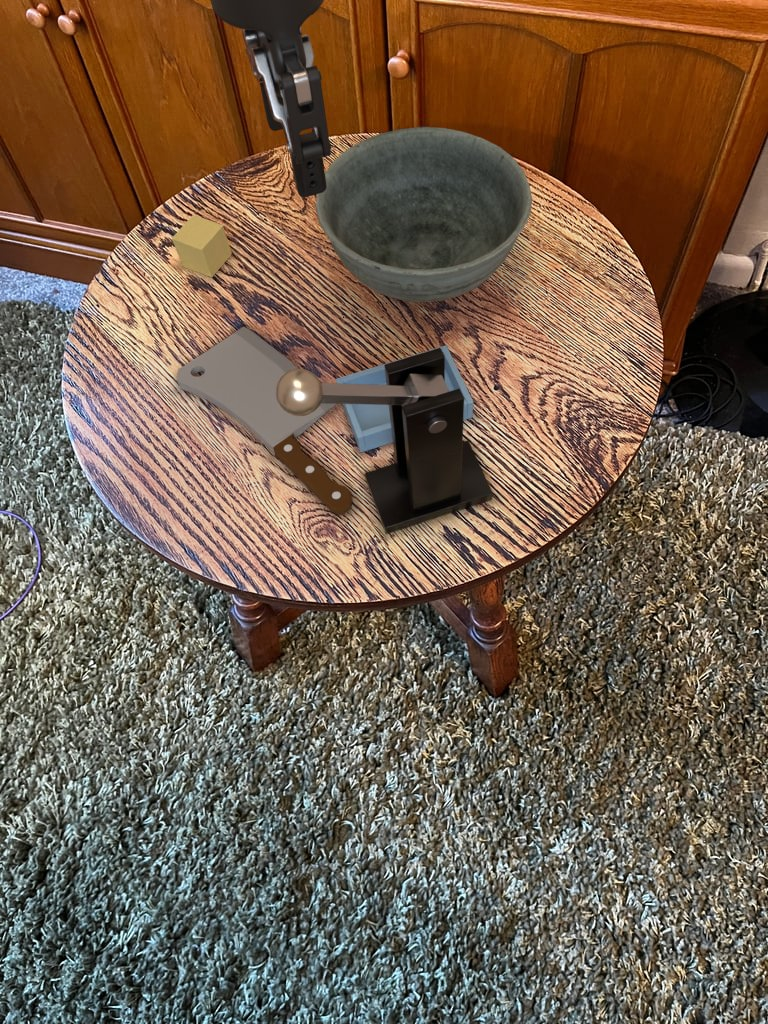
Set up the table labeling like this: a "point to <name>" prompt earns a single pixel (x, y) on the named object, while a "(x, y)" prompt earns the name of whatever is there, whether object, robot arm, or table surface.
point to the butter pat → (202, 245)
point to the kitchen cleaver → (262, 405)
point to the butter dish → (375, 419)
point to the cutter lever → (351, 391)
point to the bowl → (424, 211)
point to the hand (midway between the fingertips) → (297, 158)
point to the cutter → (426, 454)
